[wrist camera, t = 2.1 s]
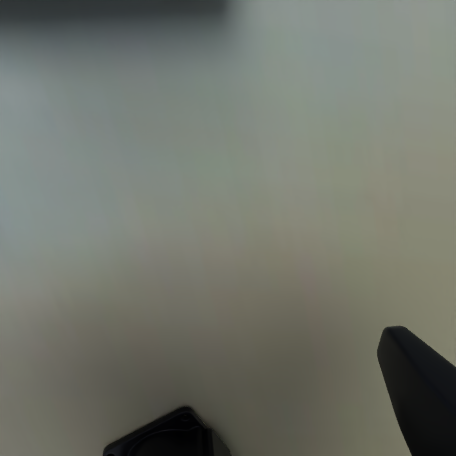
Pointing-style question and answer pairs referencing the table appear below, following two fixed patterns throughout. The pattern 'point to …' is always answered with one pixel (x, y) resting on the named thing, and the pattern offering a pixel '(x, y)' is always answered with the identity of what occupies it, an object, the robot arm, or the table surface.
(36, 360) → the table surface
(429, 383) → the robot arm
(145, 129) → the table surface
